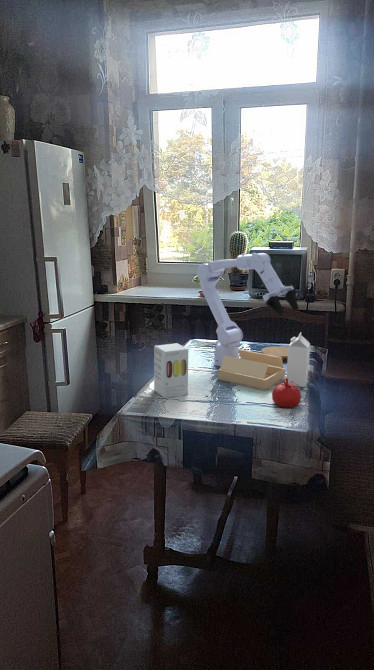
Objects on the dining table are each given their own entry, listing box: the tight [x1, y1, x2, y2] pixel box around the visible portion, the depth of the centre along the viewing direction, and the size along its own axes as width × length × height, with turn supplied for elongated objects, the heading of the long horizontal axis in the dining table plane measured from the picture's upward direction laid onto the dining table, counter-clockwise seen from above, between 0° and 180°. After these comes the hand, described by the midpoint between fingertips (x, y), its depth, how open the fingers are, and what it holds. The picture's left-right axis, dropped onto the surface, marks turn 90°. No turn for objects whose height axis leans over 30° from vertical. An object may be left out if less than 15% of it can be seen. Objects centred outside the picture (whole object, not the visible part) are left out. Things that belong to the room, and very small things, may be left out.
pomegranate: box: [271, 377, 302, 409], centre depth 170 cm, size 10×10×9 cm
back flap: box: [238, 348, 285, 369], centre depth 199 cm, size 19×6×1 cm
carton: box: [217, 365, 286, 391], centre depth 195 cm, size 20×17×4 cm
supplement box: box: [153, 342, 189, 399], centre depth 179 cm, size 10×9×17 cm
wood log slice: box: [260, 345, 288, 363], centre depth 225 cm, size 16×16×3 cm
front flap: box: [219, 355, 268, 378], centre depth 189 cm, size 19×6×1 cm
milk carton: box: [286, 332, 311, 388], centre depth 189 cm, size 7×7×19 cm
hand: (289, 312), depth 189 cm, fingers open, 7 cm apart
